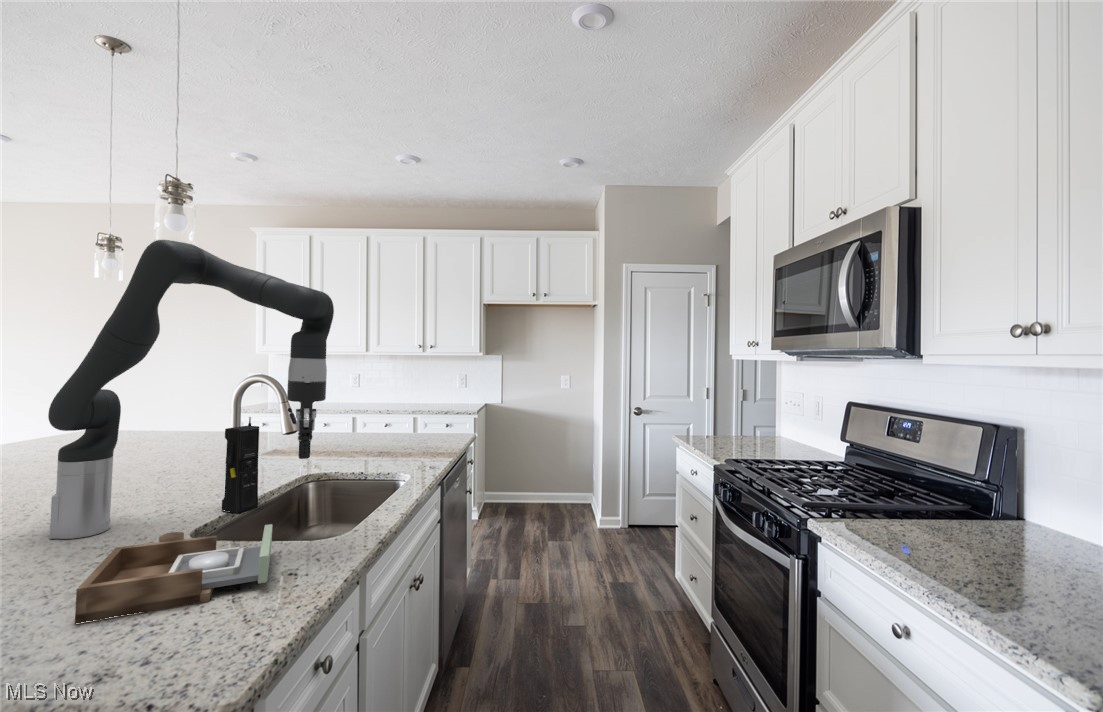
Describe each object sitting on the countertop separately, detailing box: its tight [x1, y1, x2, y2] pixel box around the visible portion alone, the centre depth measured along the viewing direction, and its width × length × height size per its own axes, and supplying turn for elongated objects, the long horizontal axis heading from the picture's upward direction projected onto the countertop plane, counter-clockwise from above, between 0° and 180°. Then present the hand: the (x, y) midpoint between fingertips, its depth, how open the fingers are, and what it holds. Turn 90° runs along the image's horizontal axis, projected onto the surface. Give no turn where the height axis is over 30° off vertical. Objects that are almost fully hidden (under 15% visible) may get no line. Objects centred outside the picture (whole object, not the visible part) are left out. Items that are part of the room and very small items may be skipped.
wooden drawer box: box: [74, 535, 218, 625], centre depth 85 cm, size 17×18×6 cm
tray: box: [168, 523, 273, 590], centre depth 89 cm, size 16×18×5 cm
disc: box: [189, 552, 228, 571], centre depth 88 cm, size 6×6×2 cm
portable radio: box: [221, 416, 260, 514], centre depth 129 cm, size 8×6×25 cm
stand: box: [158, 531, 185, 542], centre depth 96 cm, size 4×4×5 cm
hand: (304, 458), depth 103 cm, fingers closed
